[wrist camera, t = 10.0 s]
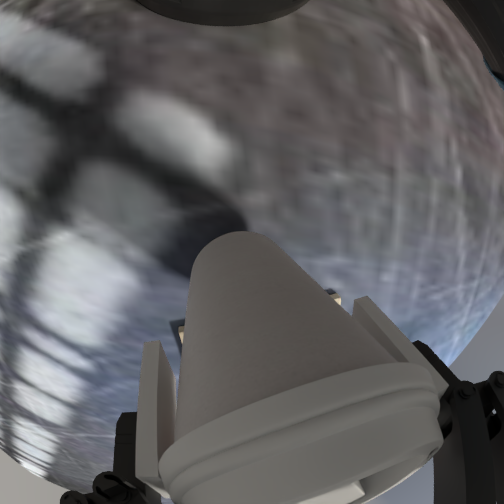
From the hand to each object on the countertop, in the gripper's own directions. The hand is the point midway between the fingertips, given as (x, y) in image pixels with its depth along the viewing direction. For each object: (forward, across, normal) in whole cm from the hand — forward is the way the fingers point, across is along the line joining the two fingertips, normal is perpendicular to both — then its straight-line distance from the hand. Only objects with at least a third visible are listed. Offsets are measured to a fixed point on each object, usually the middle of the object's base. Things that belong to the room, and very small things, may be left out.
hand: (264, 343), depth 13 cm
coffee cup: (+7, 0, 0) cm, 7 cm away
